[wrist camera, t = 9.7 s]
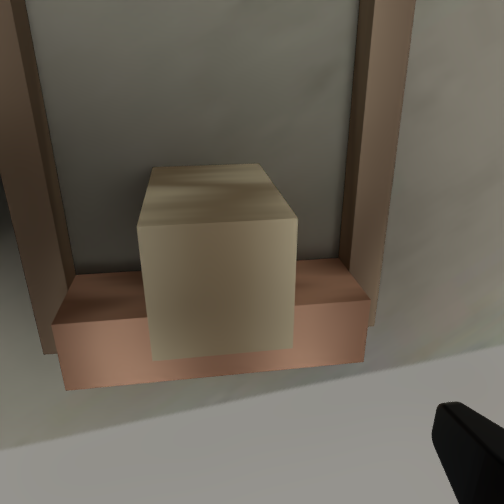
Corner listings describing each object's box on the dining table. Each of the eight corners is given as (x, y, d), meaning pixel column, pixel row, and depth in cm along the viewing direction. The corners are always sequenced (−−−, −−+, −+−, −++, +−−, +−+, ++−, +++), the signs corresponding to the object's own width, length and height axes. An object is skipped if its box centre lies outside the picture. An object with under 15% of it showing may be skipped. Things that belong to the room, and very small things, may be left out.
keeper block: (162, 263, 20) (152, 361, 13) (152, 167, 18) (136, 226, 12) (258, 257, 20) (292, 348, 14) (258, 163, 19) (297, 218, 12)
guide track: (53, 334, 20) (24, 394, 17) (-56, -150, 13) (-145, -227, 10) (362, 309, 22) (397, 358, 19) (411, -126, 15) (483, -183, 12)
